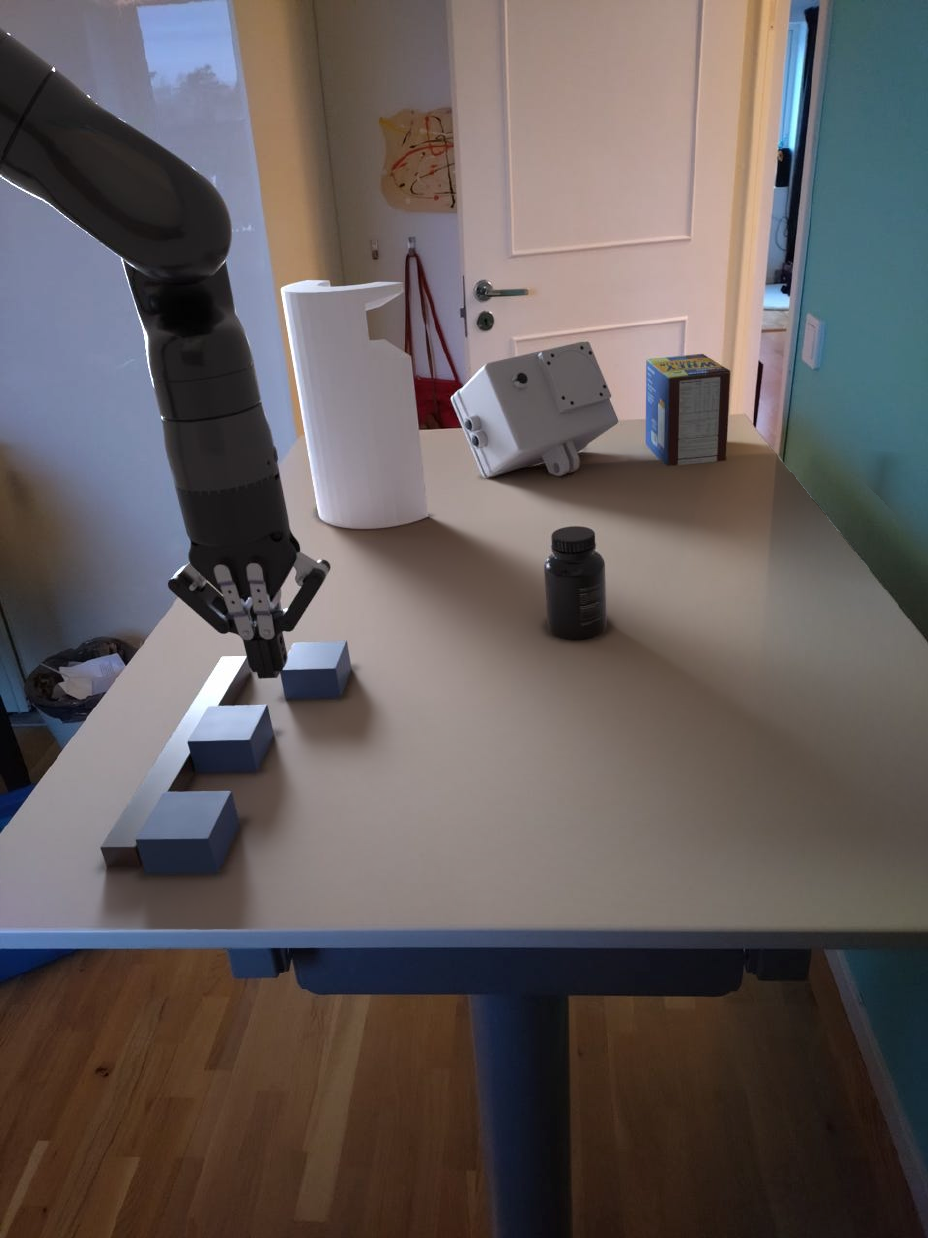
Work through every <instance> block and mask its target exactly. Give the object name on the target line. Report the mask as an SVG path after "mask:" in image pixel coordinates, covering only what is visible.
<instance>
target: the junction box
mask: <svg viewBox="0 0 928 1238" xmlns="http://www.w3.org/2000/svg"><path fill="white" fill-rule="evenodd" d="M611 398H612V393H611V391H610V388H609V387H608V384H607V382H606V379H605V377H604V374H603V373H602V369H601V367H600V365H599V363H598V360H597V358H596V355H595V353H594V351H593V348H592V346H591V343H590V341H579V342H574V343H570V344H566V345H565V344H564V345H560V346H557V347H553V348H548V349H543V350H539V351H534V352H530V353H526V354H522V355H517V356H513V357H512V356H511V357H507V358H503V359H499V360H494V361H491V362H487V363H485V364H484V365H483V366H482V367H481V368H479V369H478V371H476V373H475V374H474V375H473V376H472V377H471V378H470V379H469V380H468V381H467V382H466V383H465V384H464V385H463V386H462V387H461V388H459V389H457V391H455V392H454V394H453V395H451V397H450V402H451V405H452V406H453V409H454V412H455V413H456V416H457V418H458V422H459V424H460V426H461V428H462V430H463V433H464V435H465V438H466V441H467V443H468V445H469V448H470V450H471V453H472V455H473V457H474V460H475V463H476V465H477V467H478V470H479V472H480V474H481V477H482V478H483V479H490V478H494V477H497V476H500V475H504V474H506V473H509V472H510V473H511V472H513V471H517V470H520V469H524V468H531V467H534V466H537V465H540V464H545V466H546V469H547V471H548V473H549V474H551V475H554V476H556V477H561V476H564V475H566V474H571V473H574V472H576V471H577V470H578V469H579V468H580V456H579V454H578V453H579V452H581V450H583V449H585V448H587V447H588V445H589V444H590V443H591V442H593V441H594V440H596V439H597V438H599V437H600V436H602V435H603V434H605V433H606V432H607V431H609V430H610V429H612V428H613V427H615V426H616V425H617V424H618V423H619V418H618V416H617V413H616V411H615V409H614V406H613V404H612V402H611V400H610V399H611Z"/></svg>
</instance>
